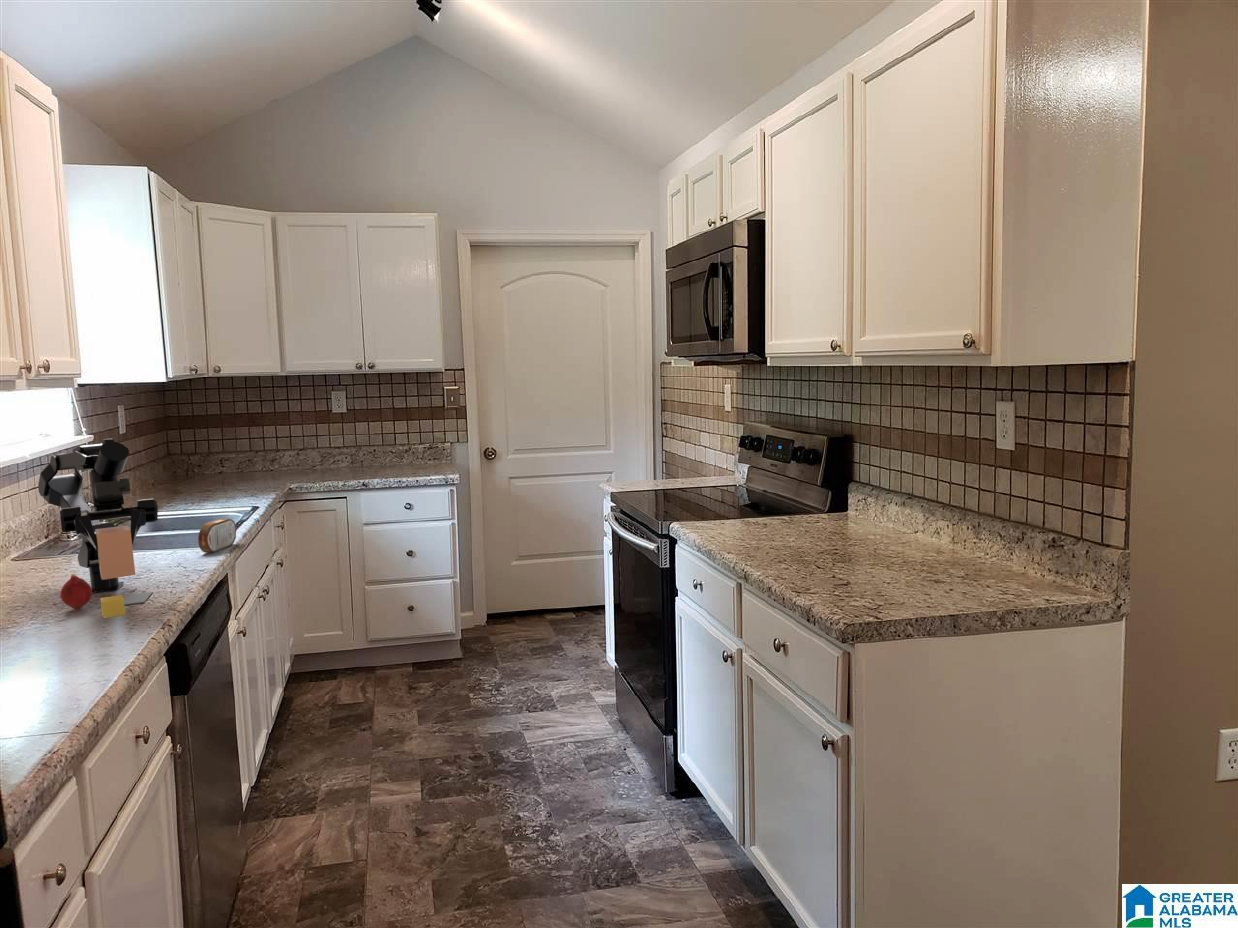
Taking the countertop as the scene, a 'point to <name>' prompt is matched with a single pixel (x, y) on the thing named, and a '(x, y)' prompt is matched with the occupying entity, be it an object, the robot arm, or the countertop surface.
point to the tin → (217, 535)
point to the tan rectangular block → (115, 552)
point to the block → (112, 606)
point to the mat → (135, 598)
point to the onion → (76, 592)
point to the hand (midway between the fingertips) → (114, 545)
